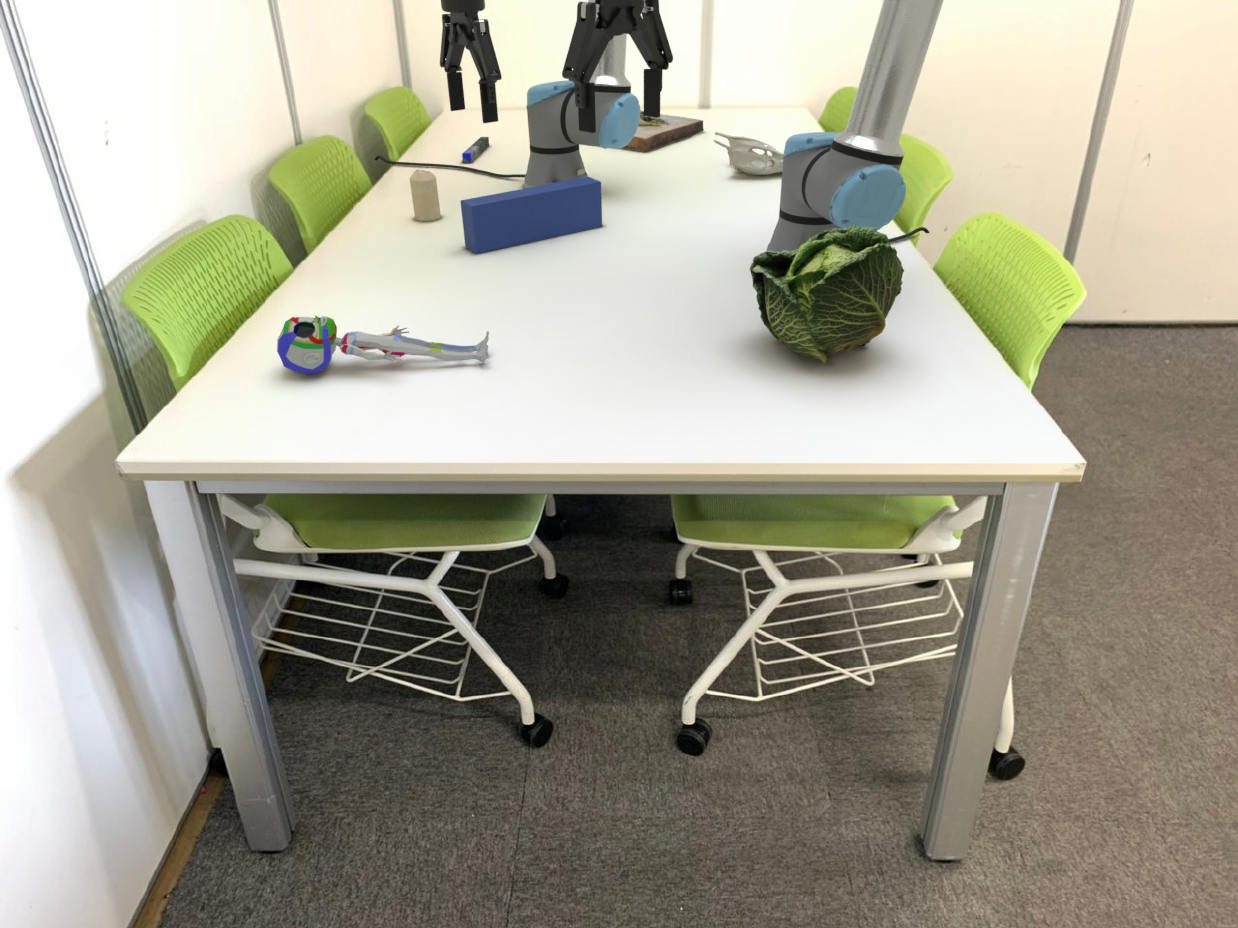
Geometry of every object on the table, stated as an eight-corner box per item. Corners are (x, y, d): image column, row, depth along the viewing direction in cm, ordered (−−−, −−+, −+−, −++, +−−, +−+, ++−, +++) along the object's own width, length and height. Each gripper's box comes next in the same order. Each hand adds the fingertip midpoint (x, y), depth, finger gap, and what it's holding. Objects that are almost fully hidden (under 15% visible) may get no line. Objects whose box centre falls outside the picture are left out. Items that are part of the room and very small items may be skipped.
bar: (476, 254, 175) (471, 206, 170) (465, 247, 178) (460, 200, 173) (602, 226, 188) (601, 181, 183) (589, 221, 192) (588, 176, 187)
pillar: (488, 137, 250) (469, 154, 234) (489, 145, 251) (470, 162, 235) (480, 137, 251) (461, 154, 234) (481, 145, 252) (462, 162, 235)
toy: (488, 343, 128) (268, 326, 123) (485, 396, 132) (272, 381, 127) (490, 315, 136) (284, 298, 132) (486, 366, 141) (287, 351, 136)
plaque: (647, 125, 237) (559, 112, 252) (647, 153, 241) (560, 139, 256) (706, 107, 258) (622, 97, 273) (705, 133, 262) (622, 121, 277)
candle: (445, 214, 196) (439, 168, 191) (432, 222, 192) (426, 174, 186) (423, 212, 198) (416, 166, 192) (410, 220, 193) (403, 172, 188)
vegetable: (780, 374, 144) (722, 268, 136) (876, 307, 145) (825, 198, 137) (841, 402, 125) (779, 281, 118) (951, 325, 127) (897, 200, 119)
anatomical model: (715, 128, 226) (816, 127, 222) (715, 166, 231) (813, 165, 227) (712, 142, 213) (818, 141, 210) (711, 181, 218) (815, 181, 215)
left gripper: (515, -12, 146) (524, 124, 158) (450, -20, 164) (463, 103, 175) (473, -9, 143) (485, 130, 154) (412, -18, 160) (427, 107, 172)
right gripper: (569, -36, 111) (576, 142, 122) (699, -46, 126) (694, 113, 137) (529, -38, 115) (540, 134, 127) (659, -47, 130) (658, 107, 142)
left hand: (473, 116), depth 165 cm, fingers open, 13 cm apart
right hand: (620, 124), depth 132 cm, fingers open, 13 cm apart
